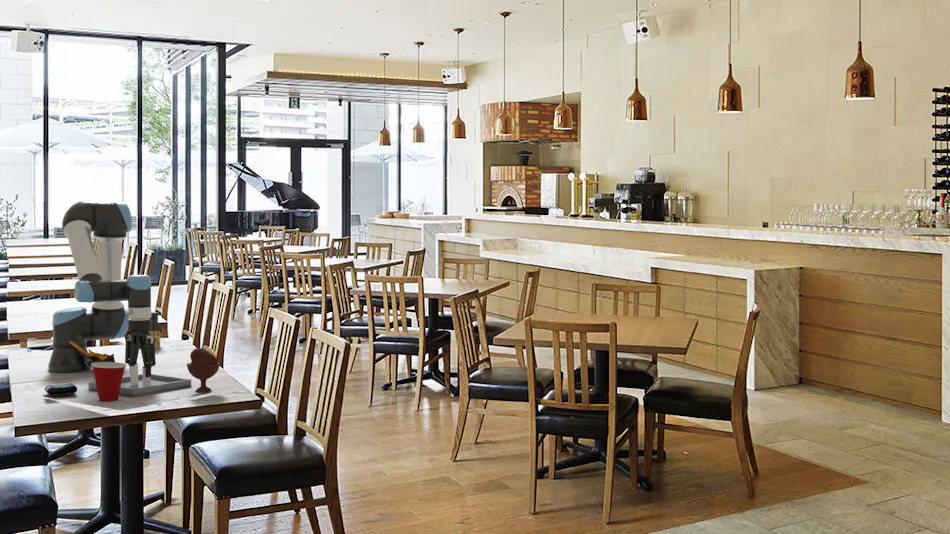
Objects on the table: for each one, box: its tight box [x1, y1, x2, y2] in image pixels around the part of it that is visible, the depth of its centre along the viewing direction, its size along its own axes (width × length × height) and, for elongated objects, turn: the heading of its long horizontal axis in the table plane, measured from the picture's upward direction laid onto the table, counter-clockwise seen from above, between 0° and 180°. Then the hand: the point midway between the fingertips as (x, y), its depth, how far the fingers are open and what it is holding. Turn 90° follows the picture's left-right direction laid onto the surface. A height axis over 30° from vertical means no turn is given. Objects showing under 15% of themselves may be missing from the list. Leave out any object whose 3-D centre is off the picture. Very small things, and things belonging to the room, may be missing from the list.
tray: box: [88, 373, 192, 398], centre depth 309 cm, size 24×24×2 cm
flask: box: [44, 382, 78, 396], centre depth 297 cm, size 9×3×11 cm
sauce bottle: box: [145, 311, 161, 350], centre depth 381 cm, size 6×6×20 cm
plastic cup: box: [91, 361, 127, 402], centre depth 288 cm, size 11×11×12 cm
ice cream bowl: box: [186, 347, 221, 394], centre depth 303 cm, size 11×11×15 cm
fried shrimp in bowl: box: [69, 340, 116, 367], centre depth 334 cm, size 9×11×18 cm
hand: (140, 385), depth 309 cm, fingers closed on tray, 6 cm apart
